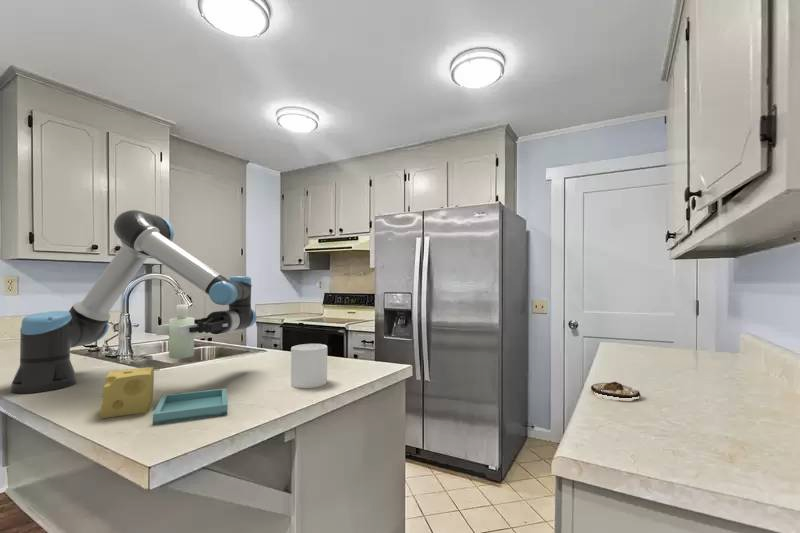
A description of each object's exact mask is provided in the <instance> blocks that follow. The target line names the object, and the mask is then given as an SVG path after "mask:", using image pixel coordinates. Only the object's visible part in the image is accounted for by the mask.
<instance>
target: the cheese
mask: <svg viewBox="0 0 800 533" xmlns="http://www.w3.org/2000/svg"><path fill="white" fill-rule="evenodd" d="M154 369H155V368H154V367H153V366H152V367H151V366H149V367H138V368H129V369H128V368H127V369H115V370H110V372H108V374H106V375H105V384H104V386H103V388H102V393H101V397H102V403H101V405H100V410H99V412H100V413H99V415H100V418H101V419H109V418H115V417H122V416H129V415H130V414H131V415H138V413H140V414H147V413H149V410H150V408H151V406H152V404H153V402H152V401H154V383H155V382H154V380H155V379H154V378H155V373H154ZM146 412H147V413H146Z"/></svg>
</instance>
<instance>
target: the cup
mask: <svg viewBox="0 0 800 533" xmlns="http://www.w3.org/2000/svg"><path fill="white" fill-rule="evenodd" d="M327 383H328V345H326V344H324V343H323V344H322V343H304V344H297V345H294V346H291V348H290V386H292V387H294V388H297V389H298V388H299V389H314V388H319V387H323V386H325V385H326V384H327Z"/></svg>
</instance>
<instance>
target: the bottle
mask: <svg viewBox="0 0 800 533" xmlns="http://www.w3.org/2000/svg"><path fill="white" fill-rule="evenodd" d="M188 307H189V305H188V304H177V305H176V317H174V318H173V317H172V318H169V319H168V320H169V322H168V324H169V334H168V358H169V359H175V360H177V359H185V358H191V357H194V356H195V334H190V335H185V336H178V327H179V326H185V325H192V324H194V320H195V317H193V316H192V317H191V316H190V317H189V316H188V314H189V312H188V310H189V309H188Z"/></svg>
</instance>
